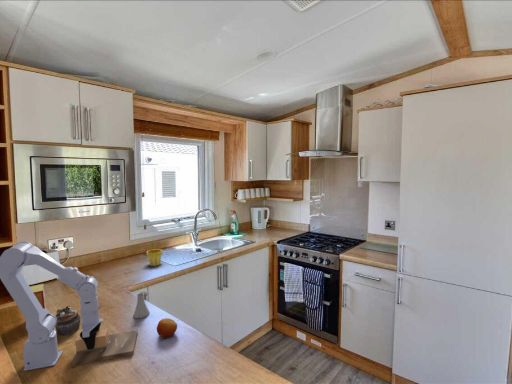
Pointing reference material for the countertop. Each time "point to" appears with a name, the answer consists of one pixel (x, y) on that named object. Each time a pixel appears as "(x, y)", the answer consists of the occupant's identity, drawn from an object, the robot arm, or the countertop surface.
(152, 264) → the plant pot
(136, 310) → the flask
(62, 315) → the cupcake
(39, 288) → the baking soda box
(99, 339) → the block
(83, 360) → the board
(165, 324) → the fruit
